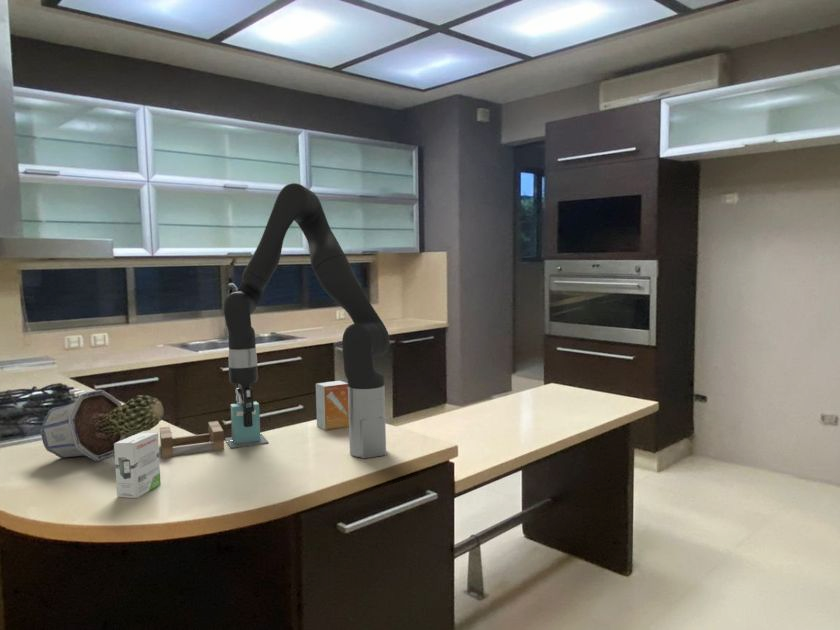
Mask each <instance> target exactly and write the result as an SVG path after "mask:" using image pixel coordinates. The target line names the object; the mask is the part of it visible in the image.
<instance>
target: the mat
mask: <svg viewBox="0 0 840 630" xmlns="http://www.w3.org/2000/svg"><path fill="white" fill-rule="evenodd" d="M260 437H261V440H258V441H250V442H243V443H235V444H234V442H233V441H230V440H232V436H231V437H224V441H225V442H226V441H228V442H226V443H228V444H227V446H228V445H229V446H228V448H229V447H230V448H232V449H237V448H236V447H239V448H244V447H243V446H246V447H253V446H260V445H259V444H261V445H266V444H267V445H268V444H269V441H268V440H267V438H266V437H265V435H264V434H263V433H261V434H260ZM252 445H253V446H252ZM230 448H229V449H230Z"/></svg>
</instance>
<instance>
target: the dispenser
mask: <svg viewBox="0 0 840 630" xmlns="http://www.w3.org/2000/svg"><path fill="white" fill-rule="evenodd" d="M207 423H208V433H201V434H191V435H185V436H177V437H173V434H172V431H171V430H172V429H171V428H170V427H171V426H164V427H159V439H160V440H159V442H160V448H161V449H160V451H161V456H162V457H161V458H162V459H164V458H171V457H172V458H173V457H174V456H182V455H188V454H195V453H201V452H210V451H214V452H216V451H217V452H218V451H223V450H225V437H224V435H225V434H224V429H223V428H222V425H221V424H220V423H219V421H218V420H214V421H208V422H207Z"/></svg>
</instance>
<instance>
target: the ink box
mask: <svg viewBox="0 0 840 630" xmlns="http://www.w3.org/2000/svg"><path fill="white" fill-rule="evenodd" d="M159 442H160V441H159V433H156V432H140V433H138V434H135V435H133V436H131V437H128V438H126V439H123V440H121V441H119V442H116V443H114V452H115V455H114V464H115V479H116V496H117V498H127V499H128V498H129V499H138V498H140V497H142V496H143V495H145V494H147V493H148V492H150V491H152V490H153V489H154V488H157V487H158V486H160V485H161V469H160V468H161V467H160V464H161V463H160V448H159V447H160V446H159V445H160V444H159Z"/></svg>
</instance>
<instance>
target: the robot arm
mask: <svg viewBox="0 0 840 630" xmlns="http://www.w3.org/2000/svg"><path fill="white" fill-rule="evenodd" d="M294 222H295V223H296V224H297V225H298V226H299V228H300V229H301V231H302V234H303V235H304V236H305V239H306V240H307V243H308V247H309V257H310V259H309V260H310V264H311V267H312V271H313V272H314V274H315V277H316V278H317V280H318V283H319V284H320V286H321V288H322V289H323V291H324V292H325V293H326V294H327V295H328V296H329V297H330V298H331V299H333V301H334V302H336V303H337V304H338V305H339V306H340V307H341V308H342V309H344V311H345V312H346V313H347V315H348V316H349V317H350V319H351V320H352V322H353V323H352V324H350V325H348V326H347V327H346V328H345V330H344V332H343V334H342V339H341V341H342V342H341V344H342V345H341V346H342V347H341V349H342V358H343V360H342V361H343V370H344V375H345V378H346V381H347V383H348V406H349V426H348V434H349V435H348V436H349V437H348V439H349V454H350V455H351V456H353V457H356V458H361V459H368V458H376V457H380V456H386V455H387V454H386V453H387V437H386V435H387V434H386V399H385V398H386V397H385V396H386V395H385V394H386V393H385V388H386V387H385V375H384V374H383V373H382V372H379V371H377V370H376V369H375V368H374V364H373V363H374V362H373V359H375V358H377V357H381V356H384V355H385V354H386V353H387V352H388V351H389V348H390V344H391V340H390V334H389V332H388V329H387V328H386V326H385V324H384V322H383V321H382V319H381V318H380V316H379V315H378V313H377V311H376V310H375V309H374V307H373V305H372V304H371V302H370V300H369V299H368V296H367V295H366V292H365V291H364V289H363V288H362V285H361V284H360V282H359V279H357V276H356V274H355V272H354V270H353V268H352V266H351V263H350V262H349V260H348V257H347V255H346V254H345V253H344V251H343V248H342V247H341V244H340V243H339V241H338V239H337V238H336V236H335V233H333V231H332V229H331V227H330V224H329V222H328V219H327V216H326V214H325V212H324V209H323V205H322V203H321V201H320V199H319V197H318V196H317V195H316V193H314V192H313V191H312V190H310V189H308V188H307V187H306V186H304V185H302V184H300V183H298V182H289V183H288V184H285V185H284V187H282V188H281V189H280V191H279V192H278V194H277V197H276V199H275V202H274V205H273V207H272V210H271V212H270V215H269V218H268V220H267V222H266V225H265V228H264V230H263V231H264V232H263V234H262V235H261V238H260V241H259V243H258V245H257V246H256V248H255V251H254V252H253V254H252V256H251V258H250V260H249V261H248V263H247V264H246V267H245V269H243V270H244V271H243V272H242V275H241V278H242V280H241V282H240V285H239V286H238V288H237V290H236V291H234V292H231V293H230V294H228V295H227V296H226V297H225V300H224V303H223V312H224V313H223V315H224V319H225V324H226V328H227V331H228V336H227V337H228V360H227V361H228V378H229V379H228V380H229V383H230V384H233V385H235V402H236V404H237V403H240V406H242V409H243V419H244V427H251V426H252V425H253V423H252V413H253V412H254V402H255V401H254V390H253V388H252V387H251V385H250V384H251V383H256V382H257V381H258V379H259V375H258V371H259V369H258V355H257V354H258V353H257V348H256V347H257V343H256V332H255V329H254V327H252V321H251V320H252V318H251V315H252V314H253V313H254V312H255V310H256V309H257V307H258V305H259V304H260V300H261V298H262V296H263V294H264V292H265V288H266V287H267V285H268V284H269V282H270V280H271V278H272V276H273V275H274V274H275V271H277V270H276V269H277V267H278V266H279V263H280V260H281V256H282V250H283V244H284V240H285V237H286V234H287V232H288V230H289V228H290V226H291V225H292V224H293V223H294ZM246 406H250V407H248V408H246Z"/></svg>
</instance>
